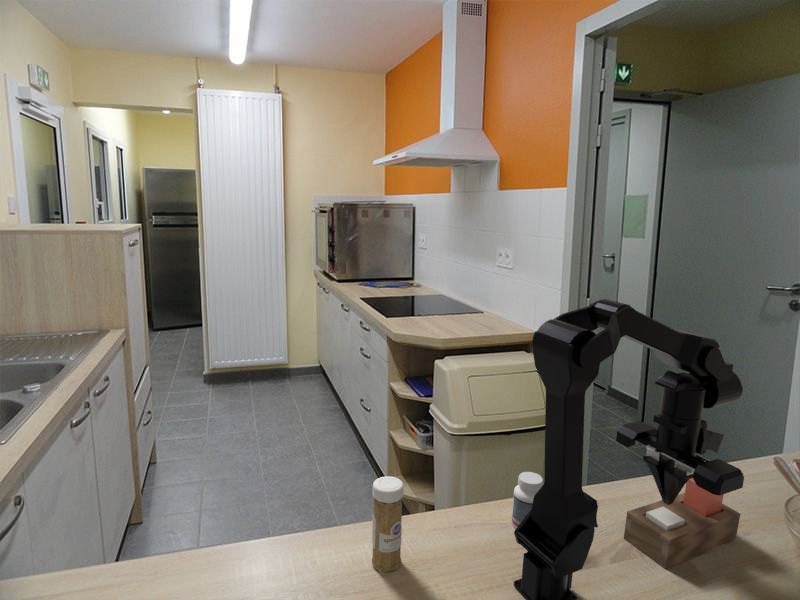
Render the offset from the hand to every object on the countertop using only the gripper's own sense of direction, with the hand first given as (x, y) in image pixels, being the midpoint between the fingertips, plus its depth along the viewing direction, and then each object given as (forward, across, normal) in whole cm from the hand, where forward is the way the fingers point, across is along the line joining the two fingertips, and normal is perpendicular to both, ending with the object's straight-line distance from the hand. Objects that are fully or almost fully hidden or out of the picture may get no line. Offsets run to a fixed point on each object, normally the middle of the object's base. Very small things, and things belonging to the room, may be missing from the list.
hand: (667, 503), depth 87 cm
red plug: (+3, 0, -9) cm, 9 cm away
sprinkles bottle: (+8, +14, +43) cm, 46 cm away
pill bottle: (+8, +14, +17) cm, 23 cm away
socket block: (+8, 0, -4) cm, 9 cm away
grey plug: (+7, 0, 0) cm, 7 cm away
